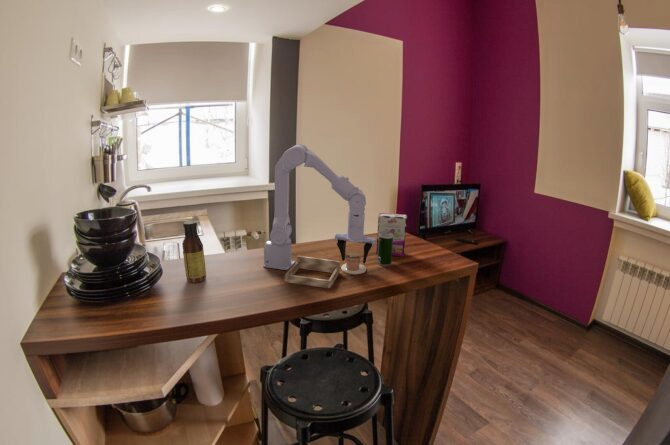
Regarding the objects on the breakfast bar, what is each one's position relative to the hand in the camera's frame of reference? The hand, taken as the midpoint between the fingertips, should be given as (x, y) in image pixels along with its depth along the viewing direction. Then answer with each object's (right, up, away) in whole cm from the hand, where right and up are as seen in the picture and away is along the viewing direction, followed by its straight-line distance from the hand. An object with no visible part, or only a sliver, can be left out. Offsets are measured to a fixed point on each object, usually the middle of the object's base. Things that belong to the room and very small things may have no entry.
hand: (353, 261), depth 133 cm
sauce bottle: (-53, -5, -11) cm, 54 cm away
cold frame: (-14, -5, -7) cm, 17 cm away
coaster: (0, -3, +1) cm, 3 cm away
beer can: (+12, -2, +7) cm, 14 cm away
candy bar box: (+16, +1, +17) cm, 23 cm away
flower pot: (0, -3, 0) cm, 3 cm away
